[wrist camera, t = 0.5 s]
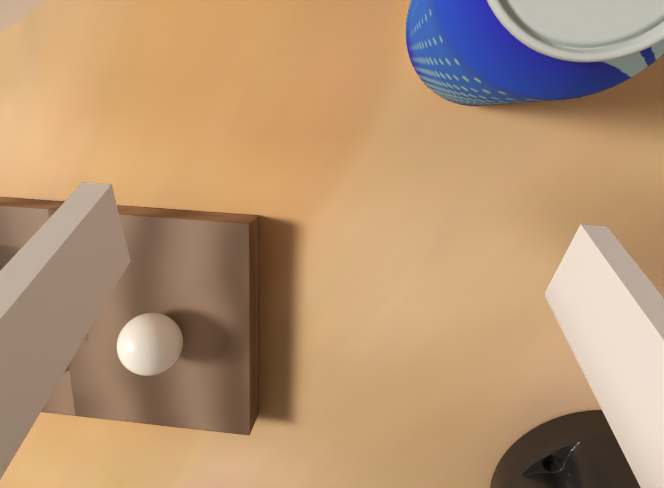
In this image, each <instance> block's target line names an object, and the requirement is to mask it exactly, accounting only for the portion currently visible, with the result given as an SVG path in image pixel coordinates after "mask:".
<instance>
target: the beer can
mask: <svg viewBox="0 0 664 488" xmlns="http://www.w3.org/2000/svg"><path fill="white" fill-rule="evenodd" d="M406 44H407V49H408V53H409V57H410V60H411V62H412V65H413V67H414V69H415V71H416V73H417V74H418V76H419V77H420V79H421V80H422V81H423V82H424V84H425V85H426V86H427V87H428V88H429V89H431V90H432V91H433V92H434V93H436V94H437V95H439V96H440V97H442V98H444V99H446V100H448V101H451V102H453V103H457V104H461V105H467V106H484V105H498V104H511V103H525V102H539V101H552V100H565V99H572V98H579V97H583V96H587V95H591V94H594V93H597V92H600V91H603V90H606V89H608V88H611V87H613V86H615V85H618V84H620V83H622V82H624V81H626V80H627V79H629V78H631V77H633V76H635V75H636V74H638V73H639V72H641V71H642V70H644V69H645V68H647V67H648V66H649V65H651V64H652V63H653V62H655V61H656V60H657V59H658V58H660V57H661V56H662V55H663V54H664V0H411V3H410V7H409V10H408V15H407V21H406Z"/></svg>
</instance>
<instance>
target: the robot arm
mask: <svg viewBox="0 0 664 488" xmlns="http://www.w3.org/2000/svg"><path fill="white" fill-rule="evenodd" d="M130 262H131V260H130V256H129V252H128V248H127V244H126V240H125V236H124V232H123V228H122V224H121V220H120V216H119V212H118V208H117V204H116V200H115V196H114V192H113V188H112V184H102V183H90V182H83V183H82V184H81V185H80V186H79V187H78V188H77V189H76V190H75V191H74V192H73V193H72V195H71V196H70V197H69V198H68V199H67V200H66V201H65V202H64V203H63V204H62V205H61V206H60V207H59V208H58V210H57V211H56V212H55V213H54V214H53V215H52V216H51V217H50V218H49V219H48V220H47V221H46V222H45V224H44V225H43V226H42V227H41V228H40V229H39V230H38V231H37V232H36V233H35V234H34V235H33V236H32V237H31V239H30V240H29V241H28V242H27V243H26V244H25V245H24V246H23V247H22V248H21V249H20V250H19V251H18V252H17V254H16V255H15V256H14V257H13V258H12V259H11V260H10V261H9V262H8V263H7V264H6V265H5V266H4V267H3V269H2V270H1V271H0V479H1V478H2V476H3V474H4V473H5V471H6V469H7V468H8V466H9V464H10V462H11V461H12V459H13V457H14V456H15V454H16V452H17V451H18V449H19V447H20V446H21V444H22V442H23V441H24V439H25V437H26V436H27V434H28V432H29V431H30V429H31V427H32V426H33V424H34V422H35V421H36V419H37V417H38V416H39V414H40V412H41V411H42V409H43V407H44V406H45V404H46V402H47V401H48V399H49V397H50V396H51V394H52V392H53V391H54V389H55V387H56V385H57V384H58V382H59V380H60V379H61V377H62V375H63V374H64V372H65V370H66V369H67V367H68V365H69V364H70V362H71V360H72V359H73V357H74V355H75V354H76V352H77V350H78V349H79V347H80V345H81V344H82V342H83V340H84V339H85V337H86V335H87V334H88V332H89V330H90V329H91V327H92V325H93V324H94V322H95V320H96V319H97V317H98V315H99V314H100V312H101V310H102V308H103V307H104V305H105V303H106V302H107V300H108V298H109V297H110V295H111V293H112V292H113V290H114V288H115V287H116V285H117V283H118V282H119V280H120V278H121V277H122V275H123V273H124V272H125V270H126V268H127V267H128V265H129V263H130ZM544 295H545V297H546V299H547V301H548V303H549V305H550V307H551V309H552V311H553V313H554V315H555V317H556V319H557V321H558V323H559V325H560V327H561V329H562V331H563V333H564V335H565V337H566V339H567V341H568V343H569V345H570V347H571V349H572V351H573V353H574V355H575V357H576V359H577V361H578V363H579V365H580V367H581V369H582V371H583V373H584V375H585V377H586V379H587V381H588V383H589V385H590V387H591V389H592V391H593V393H594V395H595V397H596V399H597V401H598V403H599V405H600V407H601V409H602V411H588V412H580V413H574V414H570V415H566V416H562V417H559V418H556V419H553V420H550V421H548V422H546V423H544V424H541V425H540V426H538V427H536V428H534V429H532V430H531V431H529V432H528V433H526V434H525V435H523V436H522V437H521V438H520V439H518V440H517V441H516V442H515V443H514V444H513V445H512V446H511V447H510V448H509V449H508V450H507V452H506V453H505V454H504V455H503V457H502V458H501V460H500V462H499V463H498V465H497V467H496V469H495V472H494V474H493V477H492V481H491V486H490V488H664V298H663V296H662V295H661V294H660V293H659V291H658V290H657V289H656V288H655V286H654V285H653V284H652V282H651V281H650V280H649V279H648V277H647V276H646V275H645V274H644V272H643V271H642V270H641V269H640V267H639V266H638V265H637V264H636V262H635V261H634V260H633V259H632V257H631V256H630V255H629V253H628V252H627V251H626V250H625V248H624V247H623V246H622V245H621V243H620V242H619V241H618V240H617V238H616V237H615V236H614V235H613V233H612V232H611V231H610V230H609V228H608V227H607V226H595V225H584V224H580V226H579V228H578V230H577V232H576V234H575V236H574V238H573V240H572V242H571V244H570V246H569V248H568V250H567V252H566V254H565V255H564V257H563V259H562V261H561V263H560V265H559V267H558V269H557V271H556V273H555V275H554V277H553V279H552V281H551V283H550V285H549V286H548V288H547V290H546V292H545V294H544Z"/></svg>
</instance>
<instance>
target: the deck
mask: <svg viewBox="0 0 664 488" xmlns="http://www.w3.org/2000/svg"><path fill="white" fill-rule="evenodd" d="M63 203H64V202H63V201H49V200H35V199H21V198H7V197H0V271H1V270H2V269H3V267H4V266H5V265H6V264H7V263H8V262H9V261H10V260H11V259H12V258H13V257H14V256H15V255H16V254H17V252H18V251H19V250H20V249H21V248H22V247H23V246H24V245H25V244H26V243H27V242H28V241H29V240H30V239H31V237H32V236H33V235H34V234H35V233H36V232H37V231H38V230H39V229H40V228H41V227H42V226H43V225H44V224H45V222H46V221H47V220H48V219H49V218H50V217H51V216H52V215H53V214H54V213H55V212H56V211H57V210H58V208H59V207H60V206H61V205H62V204H63ZM117 208H118V212H119V216H120V220H121V224H122V228H123V232H124V236H125V240H126V244H127V248H128V252H129V256H130V260H131V262H130V263H129V265H128V267H127V268H126V270H125V272H124V273H123V275H122V277H121V278H120V280H119V282H118V283H117V285H116V287H115V288H114V290H113V292H112V293H111V295H110V297H109V298H108V300H107V302H106V303H105V305H104V307H103V308H102V310H101V312H100V314H99V315H98V317H97V319H96V320H95V322H94V324H93V325H92V327H91V329H90V330H89V332H88V334H87V335H86V337H85V339H84V340H83V342H82V344H81V345H80V347H79V349H78V350H77V352H76V354H75V355H74V357H73V359H72V360H71V362H70V364H69V365H68V367H67V369H66V370H65V372H64V374H63V375H62V377H61V379H60V380H59V382H58V384H57V385H56V387H55V389H54V391H53V392H52V394H51V396H50V397H49V399H48V401H47V402H46V404H45V406H44V407H43V409H42V411H41V412H45V413H54V414H63V415H72V416H81V417H90V418H99V419H108V420H117V421H126V422H135V423H144V424H153V425H161V426H170V427H179V428H188V429H197V430H206V431H215V432H224V433H233V434H242V435H250V433H251V431H252V428H253V426H254V423H255V421H256V418H257V416H258V356H259V215H246V214H232V213H218V212H204V211H190V210H176V209H162V208H148V207H133V206H119V205H117ZM146 313H160V314H163V315H166V316H168V317H170V318H171V319H172V320H174V321H175V322H176V323H177V325H178V326H179V328H180V330H181V332H182V336H183V347H182V351H181V354H180V356H179V358H178V359H177V361H176V362H175V363H174V364H173V365H172V366H171V367H170V368H169V369H167V370H166V371H164V372H162V373H159V374H156V375H151V376H143V375H138V374H135V373H133V372H131V371H129V370H128V369H127V368H126V367H125V366H124V365H123V364H122V363H121V361H120V359H119V357H118V353H117V340H118V337H119V334H120V332H121V330H122V329H123V327H124V326H125V325H126V324H127V323H128V322H129V321H130V320H132V319H133V318H135V317H137V316H139V315H142V314H146Z"/></svg>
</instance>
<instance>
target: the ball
mask: <svg viewBox="0 0 664 488" xmlns="http://www.w3.org/2000/svg"><path fill="white" fill-rule="evenodd" d="M182 347H183V336H182V332H181V330H180V328H179V326H178V325H177V323H176V322H175V321H174V320H172V319H171V318H170V317H168V316H166V315H163V314H160V313H146V314H142V315H139V316H137V317H135V318H133V319H132V320H130V321H129V322H128V323H127V324H126V325H125V326H124V327H123V329H122V330H121V332H120V334H119V337H118V340H117V353H118V357H119V359H120V361H121V363H122V364H123V365H124V366H125V367H126V368H127V369H128V370H129V371H131V372H133V373H135V374H138V375H143V376H151V375H156V374H159V373H162V372H164V371H166V370H167V369H169V368H170V367H171V366H172V365H173V364H174V363H175V362H176V361H177V359H178V358H179V356H180V354H181V351H182Z"/></svg>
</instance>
